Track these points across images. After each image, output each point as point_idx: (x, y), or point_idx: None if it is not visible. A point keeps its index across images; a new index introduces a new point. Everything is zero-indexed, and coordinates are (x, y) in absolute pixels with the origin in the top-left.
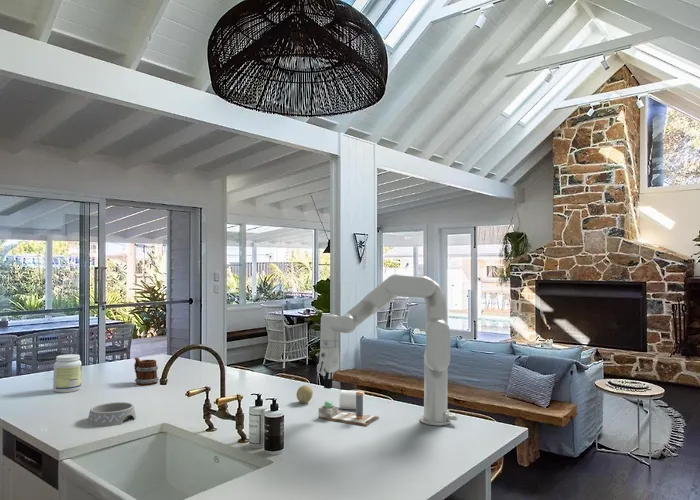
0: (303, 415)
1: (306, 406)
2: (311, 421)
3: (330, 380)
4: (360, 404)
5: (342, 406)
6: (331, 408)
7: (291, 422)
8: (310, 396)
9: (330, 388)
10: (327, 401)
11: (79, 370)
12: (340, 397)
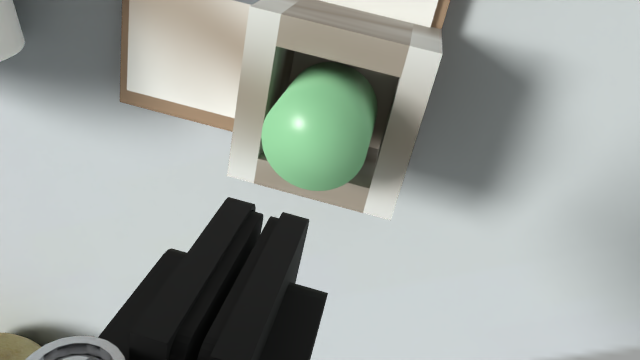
0: (344, 299)
1: (99, 322)
2: (514, 203)
3: (261, 344)
4: None
5: (16, 13)
6: (383, 64)
7: (574, 346)
8: None
9: (300, 217)
10: (275, 164)
11: None
12: None
